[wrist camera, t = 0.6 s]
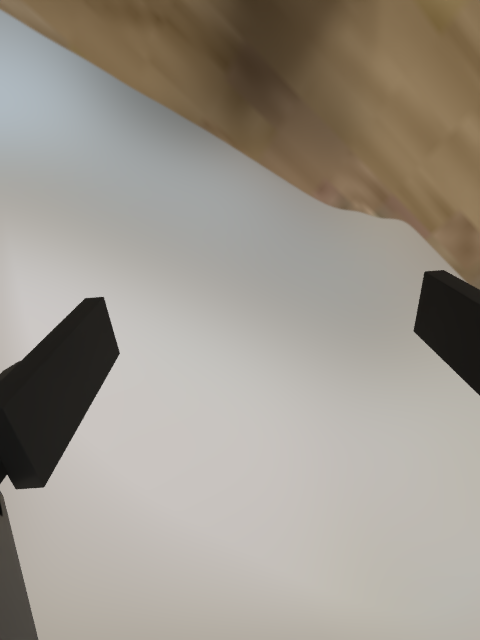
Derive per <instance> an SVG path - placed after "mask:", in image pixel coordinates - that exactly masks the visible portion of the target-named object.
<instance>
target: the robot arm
mask: <svg viewBox="0 0 480 640" xmlns="http://www.w3.org/2000/svg"><path fill="white" fill-rule="evenodd" d="M414 332H415V333H416V334H417V335H418V336H419V337H420V338H421V339H422V340H423V341H424V342H425V343H426V344H427V345H428V346H429V347H430V348H432V350H434V351H435V352H436V353H437V354H438V355H439V356H440V357H441V358H442V359H443V360H444V361H445V362H446V363H447V364H448V365H449V366H450V367H451V368H452V369H453V370H454V371H455V372H456V373H457V374H458V375H459V376H460V377H461V378H462V379H463V380H464V381H465V382H466V383H468V385H470V387H472V388H473V389H474V390H475V391H476V392H477V393H478V394H479V395H480V290H479V289H477V288H475V287H474V286H472V285H470V284H468V283H466V282H464V281H463V280H461V279H459V278H457V277H455V276H453V275H452V274H450V273H448V272H446V271H444V270H441V271H427V272H425V273H424V278H423V283H422V289H421V294H420V299H419V305H418V311H417V316H416V321H415V326H414ZM119 354H120V353H119V349H118V346H117V342H116V339H115V335H114V332H113V328H112V325H111V321H110V318H109V314H108V310H107V307H106V304H105V300H104V297H96V298H85V299H84V300H83V301H82V302H81V303H80V304H79V305H78V306H77V307H76V308H75V309H74V310H73V311H72V312H71V313H70V314H69V315H68V316H67V317H66V318H65V319H64V320H63V321H62V322H61V323H60V324H58V325H57V326H56V327H55V328H54V329H53V330H52V331H51V332H50V333H49V334H48V335H47V336H46V337H45V338H44V339H43V340H42V341H41V342H40V343H39V344H38V345H37V346H36V347H35V348H34V349H33V350H32V351H31V352H30V353H29V354H28V355H27V356H26V357H25V358H24V359H23V360H22V361H19V362H17V363H15V364H14V365H12V366H11V367H9V368H7V369H6V370H4V371H3V372H2V373H1V374H0V483H1V482H2V481H3V479H4V478H5V476H6V475H8V476H9V478H10V480H11V482H12V483H13V485H14V487H15V489H27V488H41V487H44V486H45V485H46V483H47V481H48V479H49V478H50V476H51V474H52V472H53V471H54V469H55V467H56V465H57V464H58V461H59V460H60V458H61V457H62V455H63V453H64V451H65V449H66V448H67V446H68V444H69V442H70V441H71V439H72V437H73V435H74V434H75V432H76V430H77V428H78V426H79V425H80V423H81V421H82V419H83V418H84V416H85V414H86V412H87V411H88V409H89V407H90V405H91V403H92V402H93V400H94V398H95V396H96V394H97V393H98V391H99V389H100V388H101V386H102V384H103V382H104V380H105V379H106V377H107V375H108V373H109V372H110V370H111V368H112V366H113V365H114V363H115V361H116V359H117V357H118V355H119ZM0 640H38V637H37V632H36V628H35V624H34V620H33V616H32V612H31V608H30V604H29V600H28V596H27V592H26V587H25V583H24V579H23V575H22V571H21V567H20V563H19V559H18V555H17V551H16V547H15V543H14V539H13V535H12V530H11V526H10V522H9V518H8V514H7V510H6V506H5V502H4V497H3V495H2V493H1V492H0Z"/></svg>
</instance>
